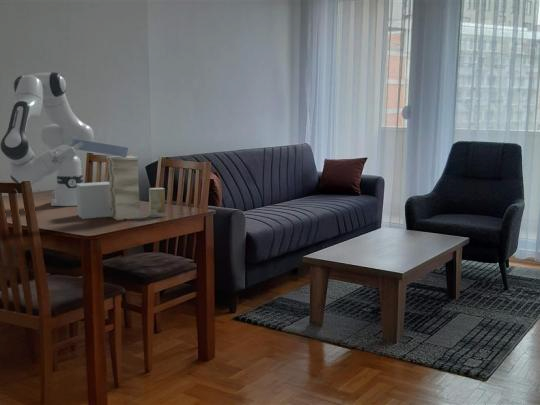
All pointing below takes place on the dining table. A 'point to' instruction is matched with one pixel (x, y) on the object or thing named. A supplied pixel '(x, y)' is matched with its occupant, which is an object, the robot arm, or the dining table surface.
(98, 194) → the low block
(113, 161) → the pedestal
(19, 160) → the robot arm
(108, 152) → the bar
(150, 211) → the skincare box
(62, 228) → the dining table surface
